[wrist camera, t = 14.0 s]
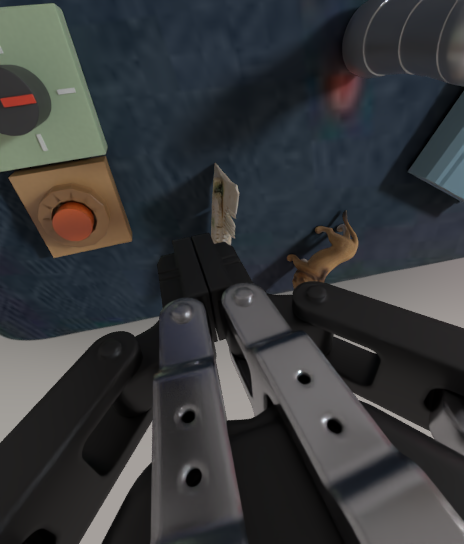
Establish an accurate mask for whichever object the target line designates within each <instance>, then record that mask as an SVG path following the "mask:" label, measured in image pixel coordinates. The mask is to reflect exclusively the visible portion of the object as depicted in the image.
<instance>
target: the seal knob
mask: <svg viewBox="0 0 464 544" xmlns="http://www.w3.org/2000/svg"><path fill="white" fill-rule="evenodd" d="M50 112H51V99H50V95H49V93H48V90H47V89H46V87H45V85H44V84H43V83H42V81H41V80H40V79H39V78H38V77H37V76H36V75H34V74H33V73H32V72H30V71H29V70H27V69H25V68H23V67H20V66H17V65H0V133H1V134H4V135H9V136H21V135H24V134H27V133H29V132H30V131H32V130H33V129H35V128H36V127H38V126H39V125H40V124H42V123H43V122H44V121H46V120H47V118H48V117H49V115H50Z"/></svg>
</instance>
